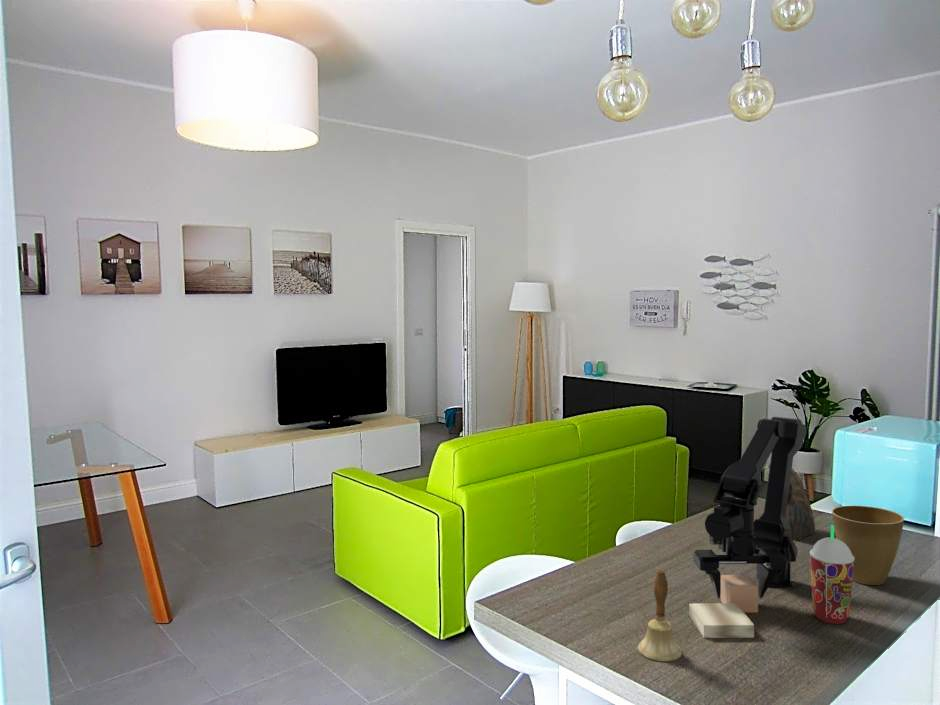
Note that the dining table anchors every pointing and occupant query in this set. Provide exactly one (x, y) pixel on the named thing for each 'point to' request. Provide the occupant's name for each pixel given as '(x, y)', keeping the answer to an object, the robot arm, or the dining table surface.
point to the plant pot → (869, 540)
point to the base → (721, 620)
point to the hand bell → (660, 628)
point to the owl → (798, 509)
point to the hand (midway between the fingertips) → (739, 597)
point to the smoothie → (831, 579)
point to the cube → (740, 592)
